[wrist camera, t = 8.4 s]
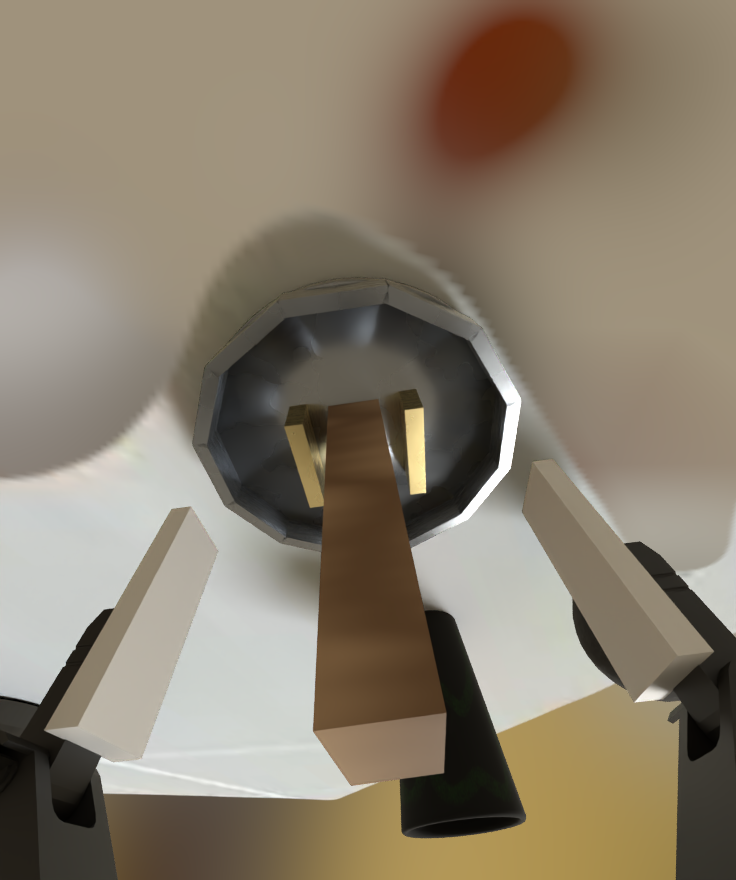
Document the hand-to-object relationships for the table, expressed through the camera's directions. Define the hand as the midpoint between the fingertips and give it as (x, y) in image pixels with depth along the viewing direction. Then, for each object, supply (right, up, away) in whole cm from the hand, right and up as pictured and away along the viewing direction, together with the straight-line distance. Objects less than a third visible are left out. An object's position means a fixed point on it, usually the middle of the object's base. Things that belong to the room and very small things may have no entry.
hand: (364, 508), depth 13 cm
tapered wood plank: (0, +3, +4) cm, 5 cm away
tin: (0, +3, +4) cm, 6 cm away
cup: (+5, -14, +17) cm, 23 cm away
